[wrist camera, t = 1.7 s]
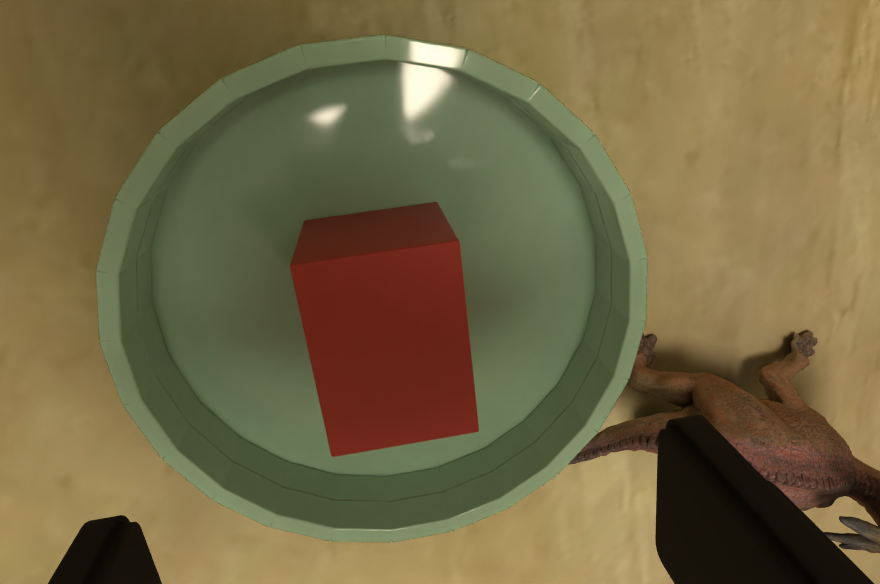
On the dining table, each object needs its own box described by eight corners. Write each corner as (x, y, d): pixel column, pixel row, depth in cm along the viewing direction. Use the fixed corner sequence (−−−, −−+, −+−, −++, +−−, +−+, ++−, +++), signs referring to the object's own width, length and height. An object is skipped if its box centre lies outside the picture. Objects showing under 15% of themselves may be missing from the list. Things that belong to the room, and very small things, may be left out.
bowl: (47, 339, 20) (-12, 394, 17) (324, -87, 17) (317, -121, 14) (423, 537, 25) (432, 607, 22) (692, 242, 22) (750, 274, 19)
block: (303, 220, 19) (288, 265, 15) (437, 201, 20) (460, 239, 15) (335, 380, 22) (331, 458, 17) (456, 361, 22) (479, 432, 18)
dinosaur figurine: (872, 335, 25) (1146, 482, 16) (821, 454, 27) (1040, 641, 18) (557, 309, 22) (683, 465, 14) (527, 441, 24) (621, 649, 16)
